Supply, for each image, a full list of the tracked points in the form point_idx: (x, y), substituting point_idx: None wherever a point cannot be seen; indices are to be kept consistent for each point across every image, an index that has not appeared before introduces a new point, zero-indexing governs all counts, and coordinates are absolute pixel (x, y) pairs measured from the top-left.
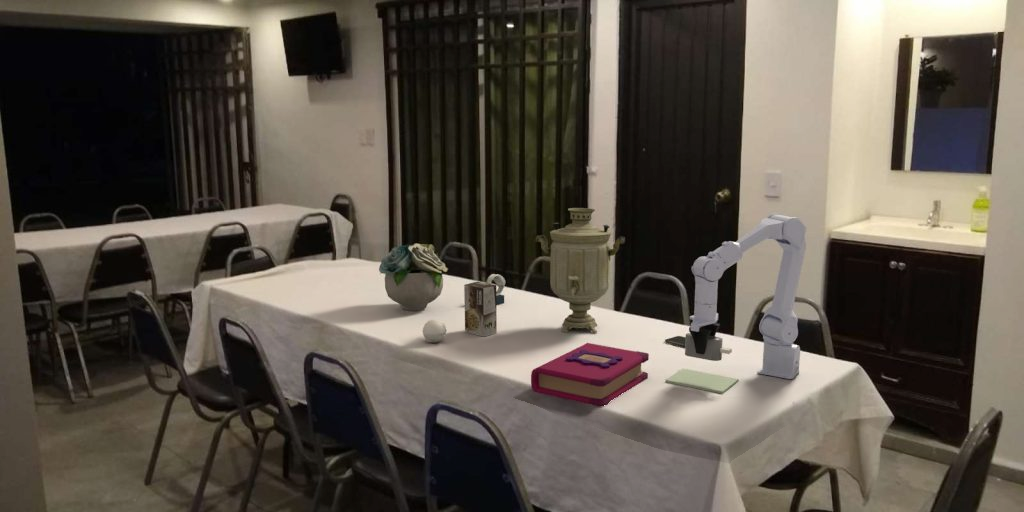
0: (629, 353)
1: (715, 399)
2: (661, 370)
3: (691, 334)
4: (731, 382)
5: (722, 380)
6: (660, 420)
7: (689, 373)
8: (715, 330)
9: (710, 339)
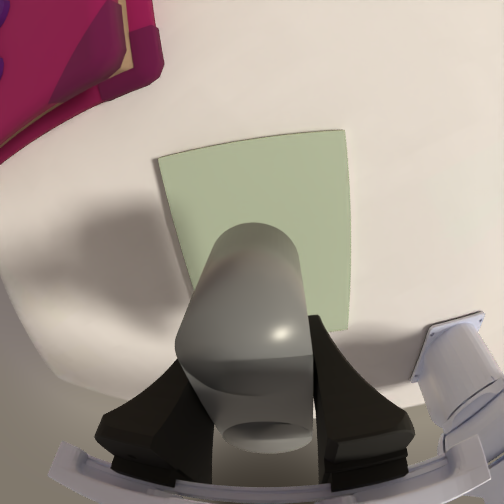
0: (66, 14)
1: (163, 336)
2: (277, 60)
3: (127, 404)
4: None
5: None
6: (18, 296)
7: (299, 184)
8: (318, 462)
9: (232, 434)
